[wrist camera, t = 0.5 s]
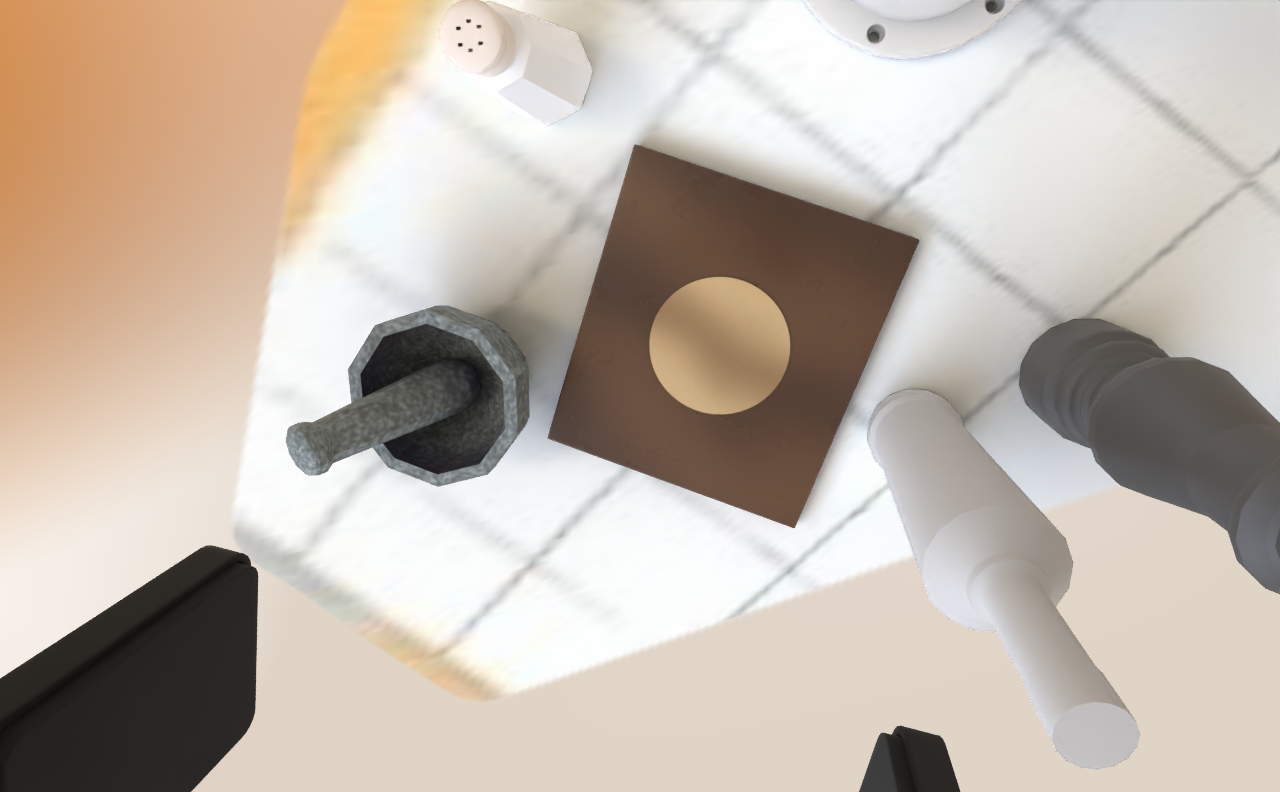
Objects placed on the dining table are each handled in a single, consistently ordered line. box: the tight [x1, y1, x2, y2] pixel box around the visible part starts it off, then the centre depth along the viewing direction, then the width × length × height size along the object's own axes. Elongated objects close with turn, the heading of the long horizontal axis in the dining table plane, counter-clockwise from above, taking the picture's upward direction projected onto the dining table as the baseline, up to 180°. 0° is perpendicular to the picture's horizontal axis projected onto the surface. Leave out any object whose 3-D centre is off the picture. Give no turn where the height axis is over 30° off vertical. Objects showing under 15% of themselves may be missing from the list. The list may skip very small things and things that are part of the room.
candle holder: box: [1019, 319, 1280, 594], centre depth 28 cm, size 6×6×25 cm
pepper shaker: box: [440, 0, 593, 126], centre depth 35 cm, size 5×5×11 cm
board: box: [548, 145, 919, 528], centre depth 42 cm, size 18×16×1 cm
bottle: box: [867, 389, 1140, 769], centre depth 31 cm, size 5×5×25 cm
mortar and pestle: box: [286, 306, 529, 487], centre depth 40 cm, size 11×9×12 cm
